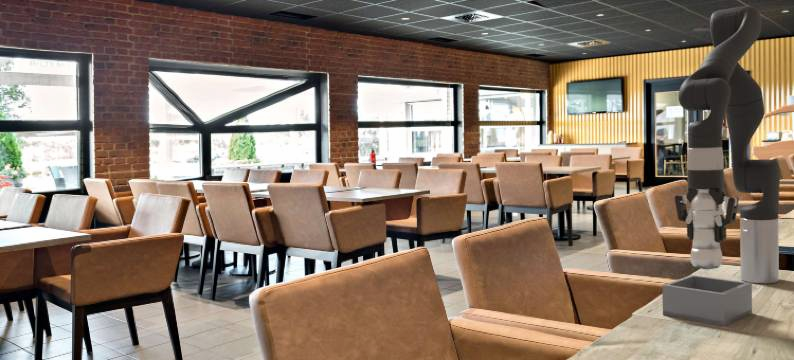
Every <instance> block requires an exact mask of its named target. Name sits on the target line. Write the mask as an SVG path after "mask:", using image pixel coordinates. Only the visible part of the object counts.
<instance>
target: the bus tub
mask: <svg viewBox="0 0 794 360" xmlns="http://www.w3.org/2000/svg"><path fill="white" fill-rule="evenodd" d="M752 287H753V283H752V282H747V281H739V280H731V279H725V278H717V277H712V276H711V277H710V276H703V275H696V274H690V275H688V276H685V277H682V278H680V279H679V278H678V279H676V280H673V281H670V282H667V283H664V284H662V291H661V292H662V315H663V316H667V317H672V318H678V319H682V320H689V321H694V322H698V323H704V324H709V325H716V326H719V327H725V326H729V325H730V324H732V323H735V322H737V321H739V320H741V319H743V318H745V317H748V316H749V315H751V314H753V298H752V297H753V289H752Z"/></svg>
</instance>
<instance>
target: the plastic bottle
mask: <svg viewBox="0 0 794 360" xmlns="http://www.w3.org/2000/svg"><path fill="white" fill-rule="evenodd" d="M696 190H698V193H697V194H696V195H695V197H696V198H695V197H694V198H695V199H694V198H693V199H694V200H692V201H691V204H690V203H689V204H690V205H689V206H690V207H691V214H692V221H693V240H692V244H691V245H692V246H691V250H690V262H691V264H692V266H693V267H694V268H696V269H697V268H698V269H701V270H715V269H719V268H720V267H721V266H722V263H723V253H722V252H723V251H722V249H721V243H717V241H716V226H718V225H717V223H716V221H715V217H714V216H713V214H714V208H715V210H716V211H717V212H721V209H723V208H722V207H723V203H722V204H721V203H720V205H717V204H716V202H715V200H714V199H713V197H712V196H711V195H710V194H709V192H708V191H709V189H707V190H702V189H696ZM708 198H710V200H709V199H708Z"/></svg>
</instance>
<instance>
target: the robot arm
mask: <svg viewBox="0 0 794 360" xmlns="http://www.w3.org/2000/svg"><path fill="white" fill-rule="evenodd" d="M709 31H710V36H711V41H712V47H713V48H712V50H710V51H709V52H708V53H707V54H706V56H705V57H704V59H703V61H702V63H701V64H700V67H699V68H698V69H697V70H694V72H693V73H691V74H690V75H689V76H688V77H686V79H685V80H684V81H683V83H681V85H680V88H679V90H678V95H677V96H678V102H679V104H680V107H682V108H683V109H684V110H685V111H688V112H689V111H690V112H698V111H710V112H709V115H708V116H707V117H706V118H705V119H701V120H698V121H694V122H691V123H690V124H688V127H687V145H688V148H687V149H688V150H687V157H686V158H687V159H686V160H687V161H686V162H687V163H686V167H687V168H686V170H687V172H686V173H687V188H688V189H687V193H686V194H678V195H675V196H674V203H675V207H676V213H677V219H678V221H680V222H684V223H685V224H686V237H687V238H688V239H689V241H693V221H692V214H691V207H690V208H689V210H688V209H687V203H688V202H689V204H691V201H692V200H694V199H695V198H696V197H695V195H696V194H697V193H698V190H696V189H702V190H707V189H709V191H708V192H709V194H710V195H711V196H712V197H713V199H714V200H715V202H716V204H717V205H720V203H721V204H722V205H723V203H724V202H725V206H726V213H725V212H724V210H723V208H722V209H721V212H717V211H716V210H715V208H714V214H713V216H714V217H715V221H716V223H717V225H718V226H716V241H717V243H720V244H721V243H722V244H723V242H725V240H726V239H727V226H728V225H731V224H734V223H736V219H737V212H738V206H739V201H740V199H739V197H737V196H730V195H729V196H727V195H726V193H725V191H724V188H725V187H724V186H725V179H724V178H725V177H724V176H725V171H724V170H725V168H724V166H725V165H724V159H725V158H724V153H723V152H724V151H723V127H724V126H723V125H724V121H725V120H726V123H727V129H728V135H729V142H730V154H731V155H730V156H731V167H732V169H731V171H732V179H733V180H732V181H733V184H734V186H735V189H736V191H737V192H739V193H743V194H745V193H746V194H762V196H761V199H760V200H758V201H757V202H754V203H752V204H749V205H745V206H743V207H741V208H740V210H739V226H740V227H739V228H740V229H739V231H740V232H739V233H740V235H739V236H740V237H739V238H740V239H739V241H740V247H739V248H740V253H739V254H740V280H741V281H742V282H748V283H752V284H753V283H754V284H775V283H778V282H779V281H780V279H779V278H780V276H779V270H780V269H779V267H780V266H779V263H780V262H779V258H780V257H779V256H780V255H779V247H780V245H779V243H780V242H779V207H780V183H781V168H780V166H779V165H780V164H779V163H778V161H777V160H775V159H769V158H768V159H766V158H765V159H763V158H762V159H749V157H748V148H749V144H750V142H751V140H752V138H753V136H754V135H755V133H756V131H757V130H758V129H759V127H760V125H761V123H762V122H763V119H764V116H765V105H764V97H763V92H762V89H761V87H760V85H759V83H758V82H757V81H756V80H755V79H754V78H753V76H751V75H750V74H749V72H748V71H746V69H744V67H742V65H741V64H740V63H739V61H740V60H741V59H742V58H743V57H744V56H745V54H746V53H747V52H748V51H749V50H750V49H751V47H752V46H753V45H754V44H755V43H756V41H757V40H758V38H759V37H760V34H761V31H762V17H761V13H760V11H759V9H758V8H757V7H756V6H754V5H743V6H735V7H730V8H724V9H719V10H716V11H713V13H712V14H711V16H710V19H709ZM694 197H695V198H694ZM693 198H694V199H693ZM708 199H709V200H710V198H708Z"/></svg>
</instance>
